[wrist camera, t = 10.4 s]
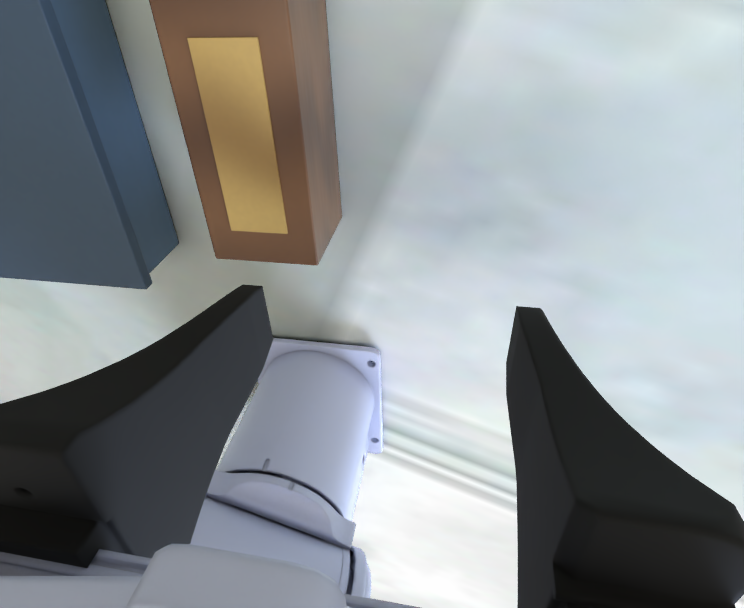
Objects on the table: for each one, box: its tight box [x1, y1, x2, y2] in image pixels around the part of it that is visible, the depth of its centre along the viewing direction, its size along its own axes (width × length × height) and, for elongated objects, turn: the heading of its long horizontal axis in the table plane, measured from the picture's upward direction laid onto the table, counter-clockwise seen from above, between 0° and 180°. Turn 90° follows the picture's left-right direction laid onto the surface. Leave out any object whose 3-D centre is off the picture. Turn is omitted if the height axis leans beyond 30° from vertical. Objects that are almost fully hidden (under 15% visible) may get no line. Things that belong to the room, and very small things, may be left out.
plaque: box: [149, 0, 342, 265], centre depth 20 cm, size 10×5×5 cm, turn 2°
